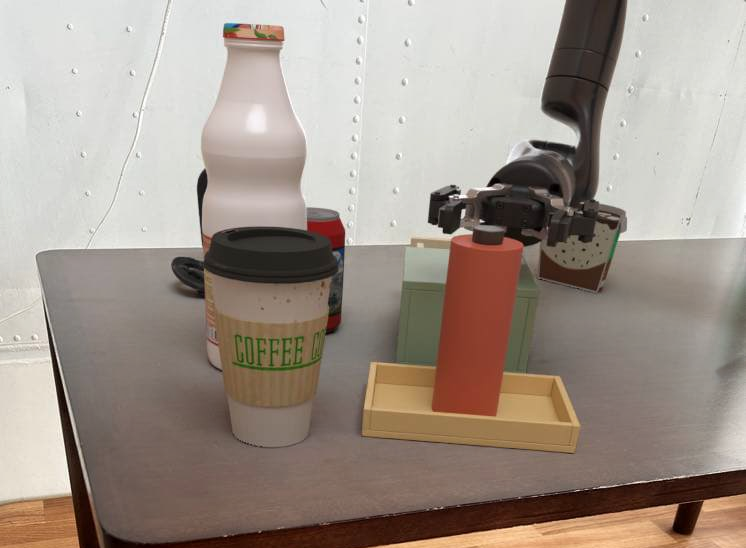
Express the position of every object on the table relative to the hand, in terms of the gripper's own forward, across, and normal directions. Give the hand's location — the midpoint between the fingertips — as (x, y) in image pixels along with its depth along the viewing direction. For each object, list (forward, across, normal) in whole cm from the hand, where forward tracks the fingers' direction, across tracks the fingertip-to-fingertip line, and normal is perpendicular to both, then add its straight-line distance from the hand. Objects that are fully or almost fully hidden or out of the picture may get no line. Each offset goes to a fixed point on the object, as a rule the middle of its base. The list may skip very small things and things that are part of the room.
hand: (499, 227), depth 65 cm
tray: (+4, 0, +15) cm, 16 cm away
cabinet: (-14, -5, +15) cm, 21 cm away
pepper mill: (+3, 0, +15) cm, 15 cm away
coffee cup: (+13, -14, +15) cm, 25 cm away
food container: (-50, +4, +15) cm, 53 cm away
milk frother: (-25, -36, +15) cm, 46 cm away
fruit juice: (-1, -22, +15) cm, 27 cm away
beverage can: (-14, -21, +15) cm, 30 cm away
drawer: (-27, -8, +14) cm, 31 cm away
